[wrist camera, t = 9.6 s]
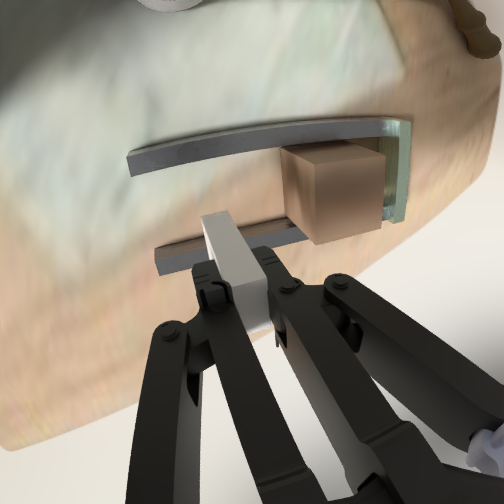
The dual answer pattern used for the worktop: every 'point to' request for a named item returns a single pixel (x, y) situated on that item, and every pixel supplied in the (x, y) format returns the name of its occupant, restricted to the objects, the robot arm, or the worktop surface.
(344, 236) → the chute block
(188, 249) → the chute
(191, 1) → the energy drink can
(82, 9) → the worktop surface
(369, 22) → the worktop surface
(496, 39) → the kendama
